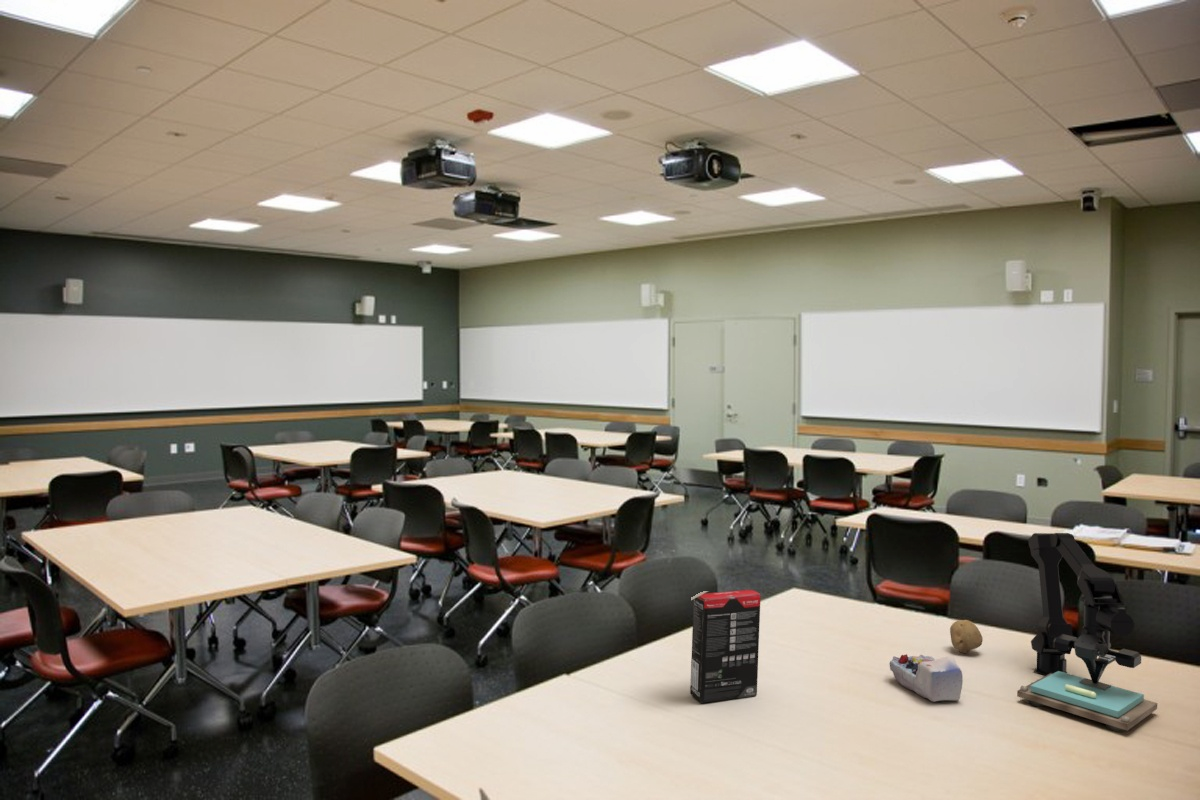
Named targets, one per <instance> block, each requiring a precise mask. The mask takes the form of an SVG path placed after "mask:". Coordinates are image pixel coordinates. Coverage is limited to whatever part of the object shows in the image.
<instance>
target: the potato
mask: <svg viewBox="0 0 1200 800" xmlns="http://www.w3.org/2000/svg"><path fill="white" fill-rule="evenodd" d="M949 632H950V634H949V635H950V640H951V644H952V647H953V649H956V650H957V651H958V652H960V653H961V654H962V653H963V654H965V653H966V654H967V653H969V652H971V651H972V650H975V649H978V648H979V647H982V644H983V641H984V640H983V639H984V638H983V635H982V633H981V631H980V630H979V628H978V627H977V626H976V624H975V623H973V622H972V621H971V620H969V619H959V620H956V621H954V622H953V623H952V624H951V625H950V629H949Z"/></svg>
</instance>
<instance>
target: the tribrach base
mask: <svg viewBox="0 0 1200 800" xmlns="http://www.w3.org/2000/svg"><path fill="white" fill-rule="evenodd" d="M1051 674H1052V673H1050V674H1048V675H1044V676H1043V677H1041V678H1039V679H1036V681H1033V682H1031V683H1030V684H1027V685H1021V686H1020V689H1018V690H1017V693H1016V694H1017V696H1016V697H1018V698H1022V699H1025V700H1028V704H1029V705H1031V706H1034V707H1039V708H1040V707H1041V708H1043V707H1044V706H1046V707H1050V708H1053V709H1056V710H1060V711H1063V712H1067V713H1070V714H1073V715H1076V716H1079V717H1082V718H1086V719H1088V720H1092V721H1095V722H1098V723H1101V724H1105V725H1106V728H1107V729H1108V730H1111V731H1114V732H1119V733H1120V732H1124V731H1126V732H1127V731H1129V730H1130V729H1132V728H1134V726H1136V725H1137V724H1139V723H1140V722H1141V721H1143V720H1144V719H1146V718H1147V717H1148V716H1150V715H1151V714H1152V713H1154V712H1155V711H1156V710H1157V709H1158V703H1157V702H1156V701H1152V700H1147V699H1145V698H1144V701H1142V702H1141V703H1139V704H1138V705H1136V706H1135V707H1133V708H1132V709H1130V710H1129V711H1127V712H1126V713H1124V714H1123V715H1121V716H1120V717H1118V718H1117V717H1114V716H1111V715H1107V714H1104V713H1101V712H1097V711H1094V710H1091V709H1087V708H1084V707H1081V706H1077V705H1074V704H1071V703H1067V702H1064V701H1061V700H1058V699H1054V698H1051V697H1048V696H1044V695H1041V694H1038V693H1034V692H1031V691H1030V685H1032V684H1034V683H1036V682H1038V681H1040V680H1042V679H1044V678H1046V677H1048V676H1050V675H1051Z"/></svg>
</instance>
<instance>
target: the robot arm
mask: <svg viewBox="0 0 1200 800" xmlns="http://www.w3.org/2000/svg"><path fill="white" fill-rule="evenodd" d="M1027 541H1028V547H1029V549H1030V550H1029V551H1030V555H1031V557H1032V558H1033V559H1034V560H1035V562H1036V564H1038V573H1039V587H1040V595H1041V606H1042V607H1041V608H1042V618H1041V619H1040V620H1039V623H1038V624H1037V633H1036V635H1035V636H1034V637H1032V639H1031V641H1030V644H1031V649H1032V650H1034V651H1035V652H1036V668H1035V669H1033V672H1034V673H1036V674H1041V675H1044V676H1046V675H1048V674H1050V673H1052V674H1053V673H1055V672H1057V671H1060V672H1064V673H1068V671H1067V665H1068V664H1067V659H1066V655H1071V652H1072V649H1074V653H1075V656H1076V657H1077V658H1079V659H1081V660H1082V661H1083V662H1084V664H1085V665H1086V668H1087V670H1088V674H1089V676H1090V680H1092V682H1093V683H1095V684H1097V683H1098V682H1100V680H1101V677H1102V675H1103V673H1104V672H1105V669H1106V668H1107V667H1108V665H1110V664H1111V663H1113V662H1116V664H1117V665H1118V666H1122V667H1126V668H1130V669H1135V668H1136V667H1138V666H1139V665H1141V664H1142V655H1141V654H1140V652H1138V651H1135V650H1131V649H1126V648H1122V649H1120V650H1118V651H1116V650H1113V649H1110V648H1111V647H1112V643H1111V642H1110V641H1111V640H1110V636H1111V633H1112V634H1114V635H1116V636H1118V637H1121V638H1122V637H1127V636H1128V635H1130V634H1131V633H1132V632H1133V631H1134V628H1135V622H1134V620H1133V618H1132V617H1131V616H1130V615H1129V614H1127V609H1126V608H1125V607H1124V606H1125V605H1124V604H1125V603H1124V601H1123V600H1124V598H1123V596H1122V594H1121V592H1120V590H1119V588H1118V586H1117V585H1118V584H1117V583H1116V581H1115V579H1114V578H1113V577H1112V576H1111V575H1110V574H1109V573H1108V572H1107V571H1106V570H1104V569H1102V568H1099V567H1098V566H1096V565H1095V564H1094V563H1093V562H1092V561H1091V559H1090V558H1089V557H1088V556H1087V554H1086V553H1085V552H1084V551H1083V549H1082V547H1080V546H1079V544H1078V543H1077V542H1076V539H1075V537H1074V535H1073V534H1072V533H1069V532H1054V533H1052V532H1049V533H1044V532H1041V533H1040V532H1038V533H1037V532H1035V533H1032V535H1031V536H1030V537H1029V538H1028V540H1027ZM1062 558H1063V559H1064V560H1065V561H1066V563H1067V564H1068V566H1069V567H1070V568H1071V569H1072V570H1073V572H1074V573H1075V575H1076V577H1077V581H1076V584H1077V587H1078V588H1079V590H1080V592H1081V593H1082V595H1083V596H1082V597H1080V598H1079V600H1080V602H1082V603H1084V604H1083V626H1082V627H1081V630H1080V631H1081V633H1080V635H1079V637H1076V636H1074V634H1073V626H1072V624H1071V623H1068V622H1067V620H1066V619H1065V618H1064V613H1063V604H1062V602H1063V601H1062V596H1061V595H1062V592H1061V585H1060V584H1061V582H1060V574H1059V573H1060V571H1059V564H1060V562H1061V560H1062Z"/></svg>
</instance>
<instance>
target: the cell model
mask: <svg viewBox="0 0 1200 800" xmlns="http://www.w3.org/2000/svg"><path fill="white" fill-rule="evenodd" d="M889 669H890V671H891V672H892V673H893V676H894V678H895V680H896V681H897V682H898V683H899V684H901V686H902V687H904V688H905V689H907V690H910V691H913V692H915V693H916V694H917V695H918V696H920V697H922V698H926V699H928V700H929V701H931V702H933V703H934V702H935V703H936V702H940V701H951V702H952V701H954V702H955V701H959V700H961V694H962V689H963V672H962V669H961V667H960V666H959V665H958V663H957V661H956V660H955V658H953V657H950V656H946V657H940V658H938V659H935V658H934V657H933V656H929V655H923V654H919V655H912V656H910V655H909V656H908V654H907V653H906V654H902V655H900V657H897V656H892V660H890V661H889Z"/></svg>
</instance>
